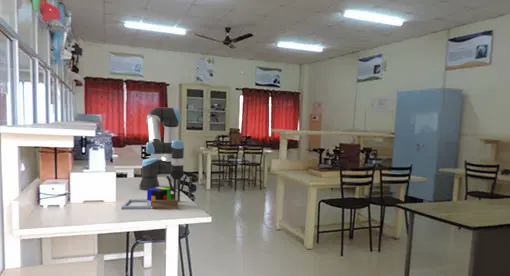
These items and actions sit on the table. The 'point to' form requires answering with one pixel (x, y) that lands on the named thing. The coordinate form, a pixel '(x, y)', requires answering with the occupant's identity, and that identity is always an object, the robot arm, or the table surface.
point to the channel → (166, 203)
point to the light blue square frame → (135, 206)
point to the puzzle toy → (158, 194)
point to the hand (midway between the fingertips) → (176, 201)
